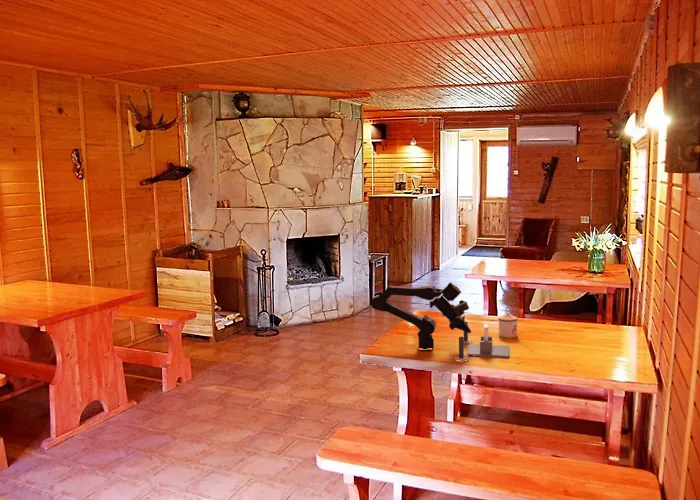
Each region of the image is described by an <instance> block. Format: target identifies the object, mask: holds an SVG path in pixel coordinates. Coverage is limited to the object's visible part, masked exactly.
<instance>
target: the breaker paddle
mask: <svg viewBox="0 0 700 500" xmlns="http://www.w3.org/2000/svg"><path fill="white" fill-rule="evenodd" d="M483 336H484V341H488V336H489V323H487V324H486V323H484V326H483Z"/></svg>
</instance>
